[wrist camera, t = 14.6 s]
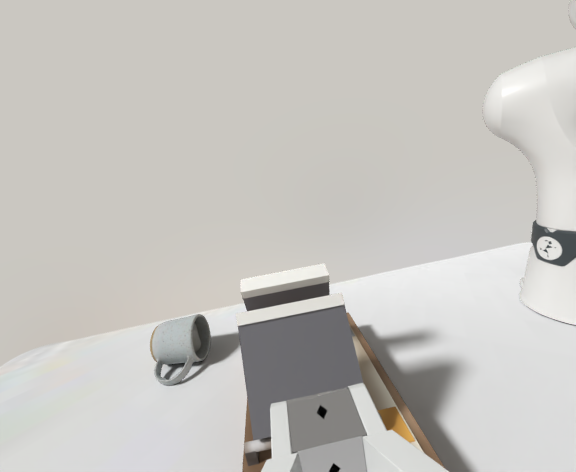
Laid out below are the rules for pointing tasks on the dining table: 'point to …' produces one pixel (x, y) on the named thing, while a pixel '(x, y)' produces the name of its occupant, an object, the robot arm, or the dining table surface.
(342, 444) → the robot arm
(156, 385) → the dining table surface
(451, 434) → the dining table surface
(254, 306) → the lever slate
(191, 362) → the ceramic mug
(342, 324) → the grey board
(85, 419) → the dining table surface
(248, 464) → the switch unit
